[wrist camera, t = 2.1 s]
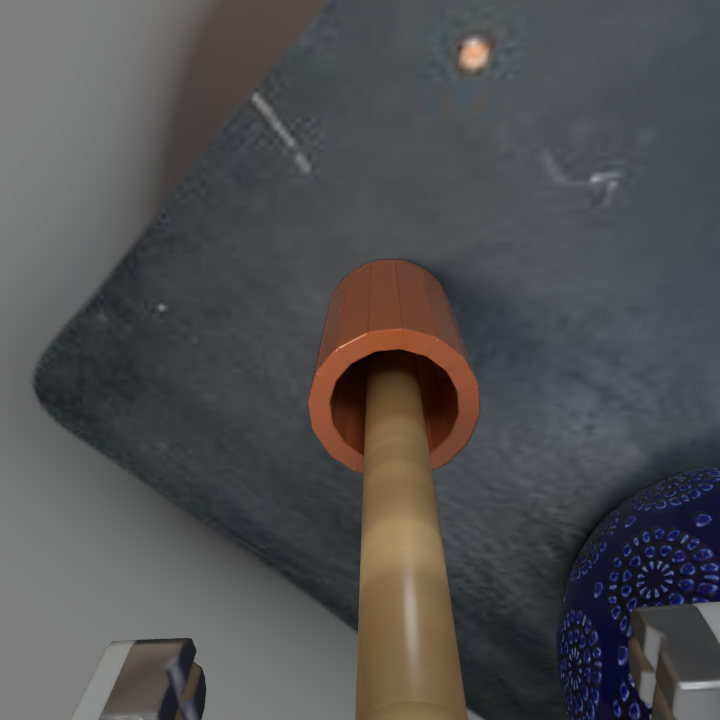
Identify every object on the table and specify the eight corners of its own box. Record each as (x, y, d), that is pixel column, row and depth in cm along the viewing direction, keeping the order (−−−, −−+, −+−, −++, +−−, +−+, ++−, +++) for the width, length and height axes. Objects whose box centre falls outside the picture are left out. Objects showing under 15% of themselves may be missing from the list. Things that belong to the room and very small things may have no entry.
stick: (366, 306, 25) (344, 766, 8) (408, 302, 25) (476, 759, 8) (371, 345, 26) (360, 840, 9) (412, 341, 26) (482, 835, 9)
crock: (319, 266, 25) (295, 339, 18) (447, 251, 25) (476, 320, 18) (336, 380, 27) (322, 485, 20) (454, 368, 27) (483, 471, 20)
